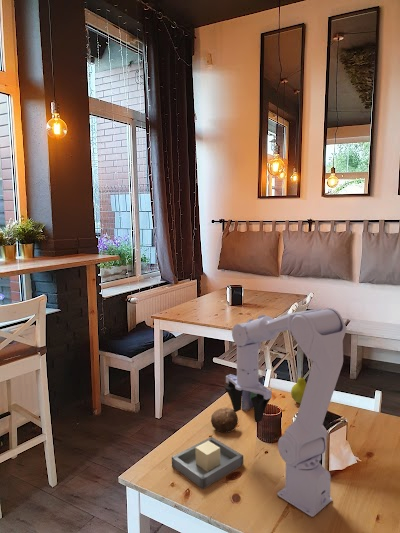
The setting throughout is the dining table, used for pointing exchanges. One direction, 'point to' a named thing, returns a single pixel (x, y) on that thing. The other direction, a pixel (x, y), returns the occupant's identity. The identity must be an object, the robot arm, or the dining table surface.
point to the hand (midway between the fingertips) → (247, 415)
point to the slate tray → (198, 475)
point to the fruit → (298, 390)
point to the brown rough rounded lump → (224, 419)
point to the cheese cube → (207, 455)
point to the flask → (249, 397)
